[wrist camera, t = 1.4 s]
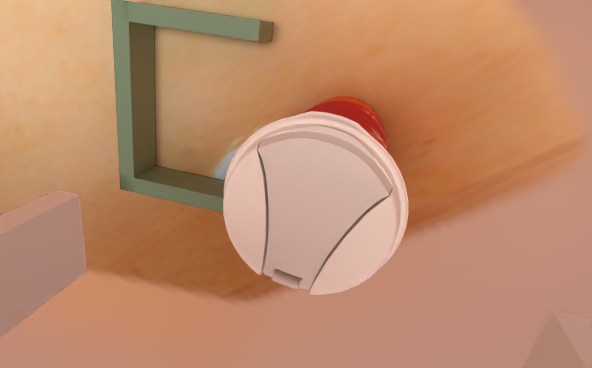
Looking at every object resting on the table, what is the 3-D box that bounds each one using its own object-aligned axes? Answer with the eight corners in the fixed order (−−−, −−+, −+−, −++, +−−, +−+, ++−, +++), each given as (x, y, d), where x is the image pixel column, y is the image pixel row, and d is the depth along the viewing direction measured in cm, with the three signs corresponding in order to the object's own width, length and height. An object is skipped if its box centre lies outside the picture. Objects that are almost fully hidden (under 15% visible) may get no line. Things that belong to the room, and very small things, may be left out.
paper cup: (375, 199, 28) (366, 331, 16) (279, 166, 29) (196, 265, 16) (417, 98, 25) (449, 160, 12) (308, 63, 26) (233, 88, 13)
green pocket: (143, 176, 32) (120, 189, 29) (138, 2, 27) (111, -2, 24) (255, 201, 31) (242, 217, 28) (273, 22, 26) (259, 20, 23)
